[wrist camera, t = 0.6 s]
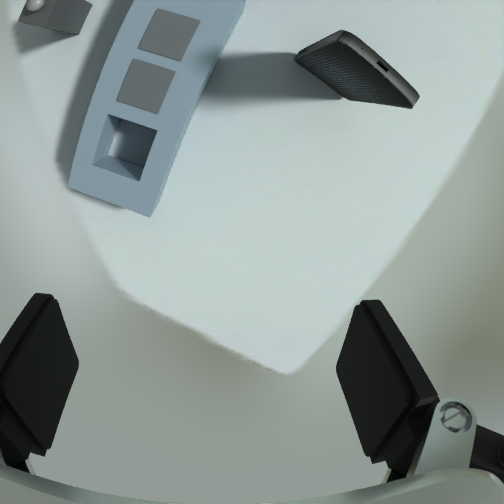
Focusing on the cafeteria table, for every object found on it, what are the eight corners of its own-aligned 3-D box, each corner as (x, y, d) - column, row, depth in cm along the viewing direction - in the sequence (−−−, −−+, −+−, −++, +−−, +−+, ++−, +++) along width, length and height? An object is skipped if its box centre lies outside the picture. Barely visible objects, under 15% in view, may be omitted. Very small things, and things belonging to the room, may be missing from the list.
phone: (352, 93, 32) (425, 99, 19) (346, 100, 32) (417, 110, 19) (296, 51, 29) (344, 26, 16) (290, 59, 30) (335, 37, 17)
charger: (66, 1, 23) (27, -16, 15) (92, 4, 24) (57, -15, 16) (53, 30, 25) (11, 20, 16) (78, 34, 26) (39, 23, 18)
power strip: (176, -41, 23) (169, -59, 18) (258, -15, 25) (264, -32, 21) (84, 174, 34) (66, 187, 29) (158, 201, 36) (149, 218, 32)
